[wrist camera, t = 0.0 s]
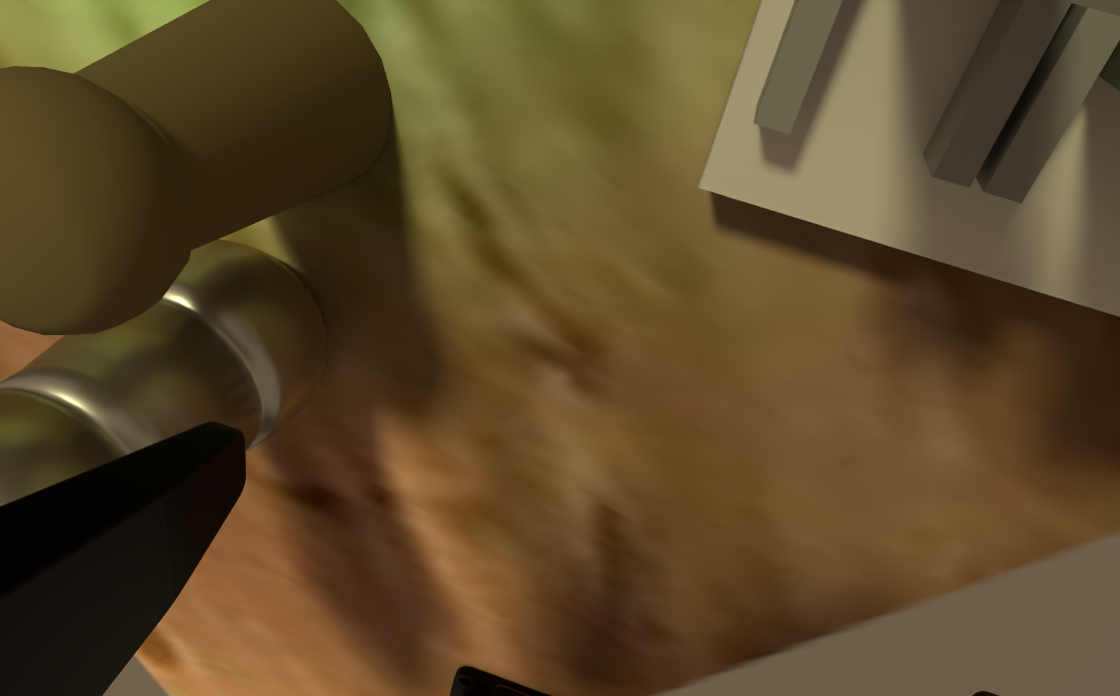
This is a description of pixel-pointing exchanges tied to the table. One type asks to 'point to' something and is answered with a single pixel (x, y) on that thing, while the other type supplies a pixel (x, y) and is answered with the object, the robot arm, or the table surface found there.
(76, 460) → the plastic bottle
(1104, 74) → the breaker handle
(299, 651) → the table surface
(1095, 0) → the handle
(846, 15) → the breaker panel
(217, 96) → the olive pepper mill
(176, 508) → the robot arm
